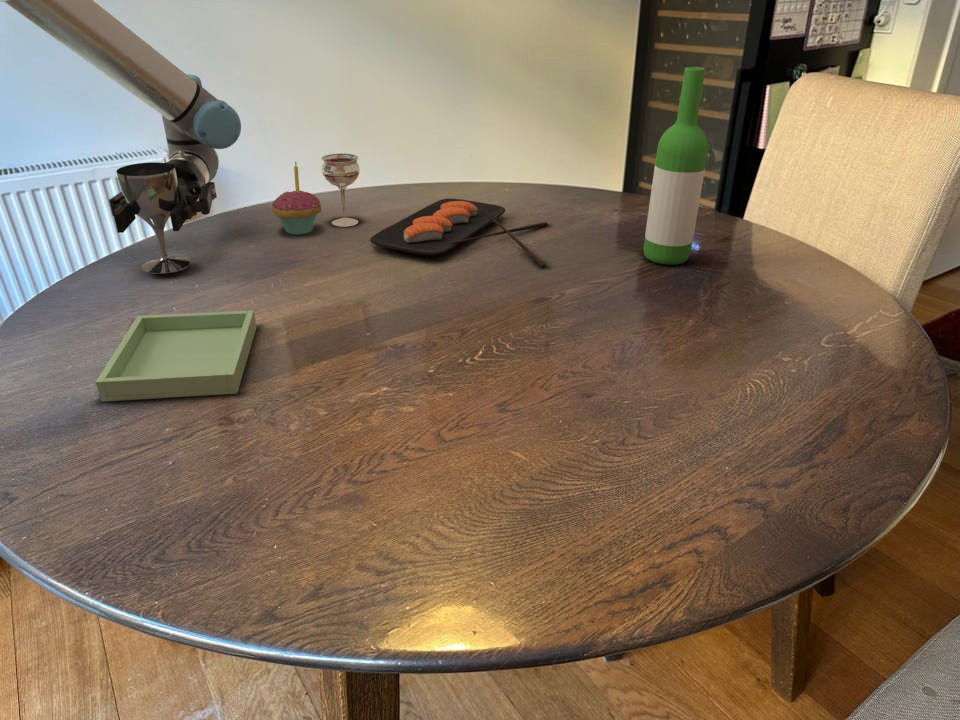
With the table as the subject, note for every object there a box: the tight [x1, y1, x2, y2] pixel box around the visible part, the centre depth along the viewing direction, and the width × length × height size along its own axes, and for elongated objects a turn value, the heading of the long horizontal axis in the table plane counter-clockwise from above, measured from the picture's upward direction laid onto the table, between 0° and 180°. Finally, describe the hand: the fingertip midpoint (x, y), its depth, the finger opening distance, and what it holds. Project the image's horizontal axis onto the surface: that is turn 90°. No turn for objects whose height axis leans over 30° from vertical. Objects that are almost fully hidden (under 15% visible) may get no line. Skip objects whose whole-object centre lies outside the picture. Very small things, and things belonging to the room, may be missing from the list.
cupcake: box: [271, 161, 322, 236], centre depth 125 cm, size 9×8×12 cm
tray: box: [95, 310, 257, 403], centre depth 85 cm, size 15×17×3 cm
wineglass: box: [320, 152, 361, 228], centre depth 129 cm, size 7×7×12 cm
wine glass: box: [115, 161, 192, 275], centre depth 106 cm, size 8×8×15 cm
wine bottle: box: [643, 66, 709, 266], centre depth 111 cm, size 8×8×30 cm
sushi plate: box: [369, 198, 548, 268], centre depth 124 cm, size 29×30×4 cm
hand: (146, 222), depth 102 cm, fingers closed on wine glass, 7 cm apart
